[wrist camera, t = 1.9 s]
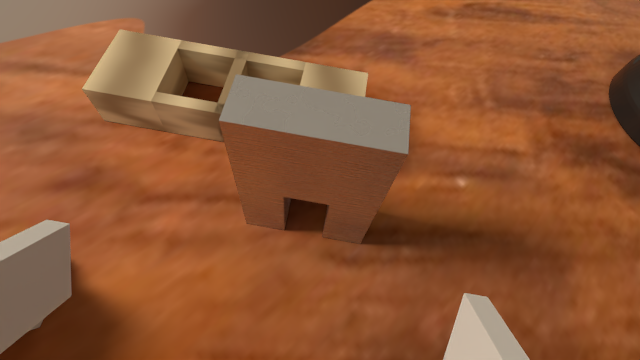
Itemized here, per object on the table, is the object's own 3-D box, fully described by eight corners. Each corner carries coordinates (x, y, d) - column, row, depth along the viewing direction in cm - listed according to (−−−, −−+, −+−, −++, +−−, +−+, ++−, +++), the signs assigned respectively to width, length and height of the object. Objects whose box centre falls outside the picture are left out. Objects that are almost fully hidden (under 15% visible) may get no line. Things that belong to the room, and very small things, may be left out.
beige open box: (360, 103, 35) (368, 73, 32) (351, 164, 32) (359, 138, 28) (136, 63, 35) (119, 29, 32) (104, 120, 32) (81, 88, 28)
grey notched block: (363, 209, 30) (410, 105, 18) (360, 243, 28) (408, 154, 17) (255, 189, 30) (235, 74, 19) (246, 223, 28) (218, 120, 17)
